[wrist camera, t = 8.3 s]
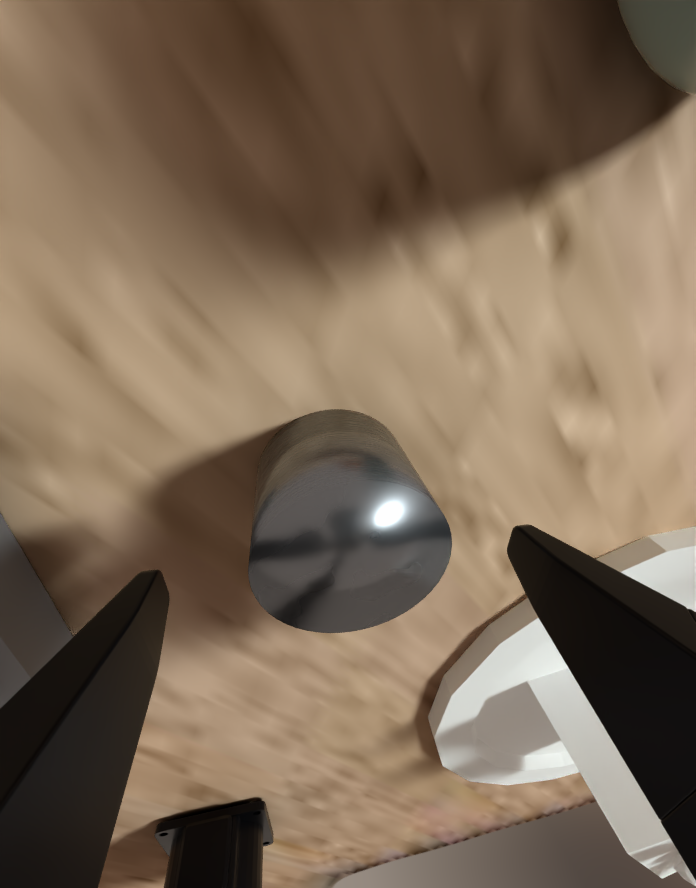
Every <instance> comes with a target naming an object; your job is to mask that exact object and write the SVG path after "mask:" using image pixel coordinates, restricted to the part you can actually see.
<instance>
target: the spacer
mask: <svg viewBox="0 0 696 888" xmlns="http://www.w3.org/2000/svg"><path fill="white" fill-rule="evenodd" d="M451 548H452V538H451V532H450V528H449V525H448V523H447V520H446V518H445V516H444V515H443V513H442V512H441V510H440V508H439V507H438V505H437V504H436V502H435V500H434V499H433V497H432V496H431V494H430V492H429V491H428V489H427V488H426V486H425V484H424V483H423V481H422V480H421V478H420V477H419V475H418V473H417V472H416V470H415V469H414V467H413V465H412V464H411V462H410V461H409V459H408V457H407V456H406V454H405V453H404V451H403V449H402V448H401V446H400V445H399V443H398V442H397V440H396V438H395V437H394V436H393V434H392V433H391V432H390V431H389V430H388V429H387V428H386V427H385V426H384V425H383V424H381V423H380V422H379V421H377V420H375V419H374V418H372V417H370V416H367V415H365V414H362V413H359V412H355V411H350V410H324V411H318V412H314V413H310V414H308V415H305V416H303V417H300V418H298V419H296V420H294V421H293V422H291V423H289V424H288V425H287V426H285V427H284V428H282V429H281V430H280V431H279V432H278V433H277V434H276V435H275V436H274V437H273V438H272V439H271V441H270V442H269V443H268V445H267V446H266V448H265V450H264V451H263V454H262V456H261V458H260V462H259V466H258V472H257V482H256V493H255V504H254V514H253V525H252V536H251V546H250V557H249V568H248V574H249V582H250V586H251V589H252V592H253V594H254V596H255V598H256V599H257V601H258V602H259V603H260V605H261V606H262V607H263V608H264V609H265V610H266V611H267V612H268V613H269V614H271V615H272V616H273V617H275V618H276V619H278V620H280V621H282V622H283V623H285V624H287V625H290V626H293V627H295V628H299V629H303V630H307V631H313V632H321V633H342V632H351V631H357V630H362V629H366V628H370V627H373V626H376V625H379V624H382V623H384V622H387V621H389V620H391V619H393V618H396V617H398V616H399V615H401V614H403V613H405V612H406V611H408V610H409V609H411V608H412V607H414V606H415V605H416V604H418V603H419V602H420V601H421V600H422V599H424V598H425V597H426V596H427V595H428V594H429V593H430V592H431V591H432V590H433V588H434V587H435V586H436V584H437V583H438V582H439V580H440V579H441V577H442V575H443V574H444V572H445V570H446V567H447V565H448V563H449V559H450V555H451Z"/></svg>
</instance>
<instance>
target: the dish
mask: <svg viewBox="0 0 696 888" xmlns="http://www.w3.org/2000/svg"><path fill="white" fill-rule="evenodd" d="M596 560H598V561H600V562H602V563H604V564H606V565H608V566H610V567H612V568H613V569H615V570H617V571H619V572H621V573H623V574H625V575H627V576H629V577H631V578H632V579H634V580H636V581H638V582H640V583H642V584H644V585H646V586H648V587H649V588H651V589H653V590H655V591H657V592H659V593H661V594H663V595H665V596H667V597H668V598H670V599H672V600H674V601H676V602H678V603H680V604H682V605H684V606H685V607H686V608H687V609H691V610H693V611H695V612H696V526H695V527H690V528H685V529H680V530H675V531H670V532H665V533H660V534H655V535H650V536H646V537H644V538H642V539H639V540H637V541H635V542H632V543H630V544H628V545H626V546H623V547H621V548H619V549H617V550H614V551H612V552H610V553H608V554H605V555H603V556H601V557H599V558H596ZM428 720H429V723H430V727H431V730H432V733H433V737H434V740H435V743H436V747H437V750H438V753H439V756H440V759H441V762H442V765H443V766H444V767H445V768H447V769H449V770H450V771H452V772H454V773H456V774H457V775H459V776H461V777H463V778H464V779H466V780H468V781H471V782H481V783H491V784H501V785H513V784H521V783H529V782H537V781H544V780H552V779H557V778H560V777H564V776H567V775H571V774H574V773H578V772H580V773H581V775H582V777H583V778H584V780H585V782H586V784H587V785H588V787H589V789H590V790H591V792H592V794H593V796H594V797H595V799H596V801H597V802H598V804H599V806H600V807H601V809H602V811H603V813H604V814H605V816H606V818H607V819H608V821H609V823H610V825H611V826H612V828H613V830H614V831H615V833H616V835H617V837H618V838H619V840H620V841H621V843H622V845H623V847H624V849H625V850H626V852H627V853H628V854H629V855H630V856H631V857H633V858H634V859H636V860H637V861H639V862H640V863H641V864H643V865H644V866H646V867H647V868H648V869H650V870H651V871H653V872H654V873H655V874H657V875H658V876H659V877H661V878H664V877H667V876H669V875H671V874H673V873H675V872H678V873H679V874H680V875H681V876H682V877H683V878H684V879H685V880H686V881H688V882H690V883H691V884H693V885H695V886H696V880H695V879H694V877H693V875H692V874H691V872H690V870H689V869H688V867H687V865H686V864H685V862H684V860H683V859H682V857H681V855H680V854H679V852H678V850H677V849H676V847H675V845H674V844H673V842H672V840H671V839H670V837H669V835H668V834H667V832H666V830H665V829H664V827H663V825H662V824H661V820H660V819H659V818H658V817H657V815H656V813H655V812H654V810H653V808H652V807H651V805H650V803H649V802H648V800H647V798H646V797H645V795H644V793H643V792H642V790H641V788H640V787H639V785H638V783H637V782H636V780H635V778H634V777H633V775H632V773H631V772H630V770H629V768H628V766H627V765H626V763H625V761H624V760H623V758H622V756H621V755H620V753H619V751H618V750H617V748H616V746H615V745H614V743H613V741H612V740H611V738H610V736H609V735H608V733H607V731H606V730H605V728H604V726H603V725H602V723H601V721H600V720H599V718H598V716H597V715H596V713H595V711H594V710H593V708H592V706H591V705H590V703H589V701H588V700H587V698H586V696H585V695H584V693H583V691H582V690H581V688H580V686H579V685H578V683H577V681H576V680H575V678H574V676H573V675H572V673H571V671H570V670H569V668H568V666H567V665H566V663H565V661H564V660H563V658H562V656H561V655H560V653H559V651H558V650H557V648H556V646H555V645H554V643H553V641H552V640H551V638H550V636H549V635H548V633H547V631H546V630H545V628H544V626H543V625H542V623H541V621H540V620H539V618H538V616H537V614H536V613H535V611H534V609H533V607H532V605H531V603H530V601H529V599H528V598H526V599H525V600H523V601H522V602H521V603H519V604H518V605H516V606H515V607H513V608H512V609H511V610H509V611H508V612H506V613H505V614H504V615H502V616H501V617H499V618H498V619H496V620H495V621H494V622H492V623H491V624H489V625H488V626H487V627H486V628H485V630H484V631H483V632H482V633H481V634H480V635H479V636H478V637H477V639H476V640H475V641H474V642H473V643H472V644H471V645H470V646H469V648H468V649H467V650H466V651H465V652H464V653H463V654H462V655H461V657H460V658H459V659H458V660H457V661H456V662H455V663H454V664H453V665H452V667H451V668H450V669H449V670H448V671H447V672H446V673H445V674H444V676H443V678H442V681H441V684H440V686H439V689H438V692H437V694H436V697H435V699H434V702H433V705H432V707H431V710H430V713H429V715H428Z"/></svg>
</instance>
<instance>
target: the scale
mask: <svg viewBox="0 0 696 888" xmlns="http://www.w3.org/2000/svg"><path fill="white" fill-rule="evenodd" d="M72 638H73V636H72V634H71V633H70V631H69V629H68V627H67V626H66V624H65V622H64V621H63V619H62V617H61V615H60V614H59V612H58V610H57V609H56V607H55V605H54V603H53V602H52V600H51V598H50V597H49V595H48V593H47V592H46V590H45V588H44V586H43V585H42V583H41V581H40V580H39V578H38V576H37V574H36V573H35V571H34V569H33V568H32V566H31V564H30V563H29V561H28V559H27V557H26V556H25V554H24V552H23V551H22V549H21V547H20V545H19V544H18V542H17V540H16V539H15V537H14V535H13V533H12V532H11V530H10V528H9V527H8V525H7V523H6V522H5V520H4V518H3V516H2V515H1V513H0V708H1V707H2V706H3V705H4V704H5V703H6V702H7V701H8V700H9V699H10V698H11V697H12V696H13V695H14V694H15V693H16V692H18V691H19V690H20V689H21V688H22V687H23V686H24V685H25V684H26V683H27V682H28V681H29V680H30V679H31V678H32V677H33V676H34V675H35V674H36V673H37V672H38V671H39V670H40V669H41V668H42V667H43V666H44V665H45V664H46V663H47V662H48V661H49V660H50V659H51V658H52V657H53V656H54V655H55V654H56V653H57V652H58V651H59V650H61V649H62V648H63V647H64V646H65V645H66V644H67V643H68V642H69V641H70V640H71V639H72Z"/></svg>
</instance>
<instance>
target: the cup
mask: <svg viewBox="0 0 696 888" xmlns="http://www.w3.org/2000/svg"><path fill="white" fill-rule="evenodd" d="M617 4H618V8H619V12H620V14H621V17H622V19H623V22H624V24H625V26H626V29H627V31H628V33H629V36H630V38H631V40H632V42H633V44H634V46H635V47H636V49H637V50H638V51H639V53H640V54H641V56H642V57H643V59H644V60H645V62H646V63H647V64H648V66H649V67H650V69H651V70H652V71H653V72H655V73H656V74H657V75H658V76H659V77H660V78H662V79H663V80H664V81H665V82H666V83H668V84H669V85H670V86H672V87H674V88H677V89H679V90H681V91H683V92H685V93H688V94H691V95H693V96H696V0H617Z"/></svg>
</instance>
